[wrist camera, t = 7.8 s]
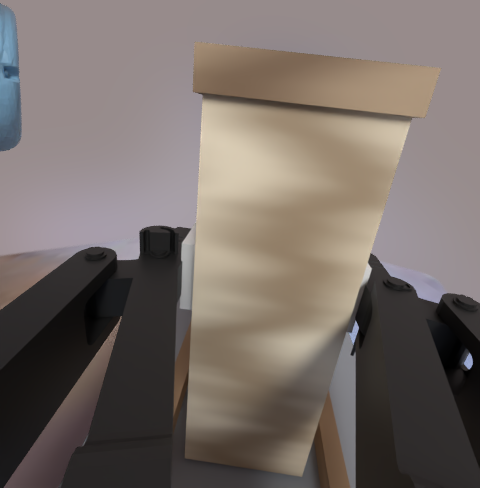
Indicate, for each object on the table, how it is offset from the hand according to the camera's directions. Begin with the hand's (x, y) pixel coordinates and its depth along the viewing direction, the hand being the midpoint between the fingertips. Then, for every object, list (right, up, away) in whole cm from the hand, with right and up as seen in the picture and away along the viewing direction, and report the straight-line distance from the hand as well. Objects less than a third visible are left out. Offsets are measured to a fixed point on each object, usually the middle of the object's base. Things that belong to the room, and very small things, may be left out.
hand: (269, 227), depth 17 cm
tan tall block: (-1, -9, 0) cm, 9 cm away
